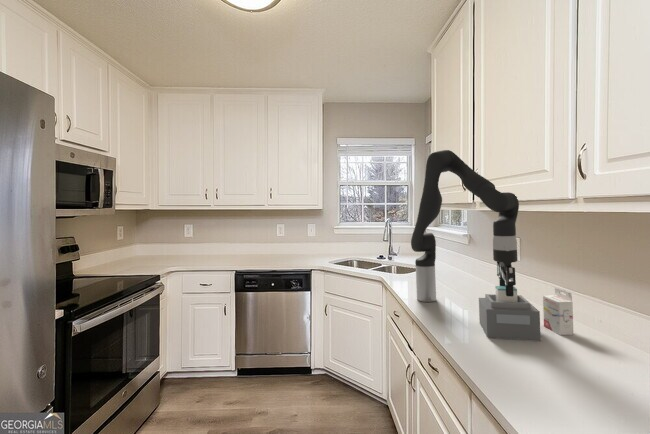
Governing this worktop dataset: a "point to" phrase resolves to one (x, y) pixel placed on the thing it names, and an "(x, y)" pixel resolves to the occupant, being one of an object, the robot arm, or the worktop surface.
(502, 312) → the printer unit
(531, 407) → the worktop surface
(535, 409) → the worktop surface
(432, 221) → the robot arm
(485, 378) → the worktop surface
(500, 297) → the block
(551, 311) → the ink cartridge box
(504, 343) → the worktop surface
